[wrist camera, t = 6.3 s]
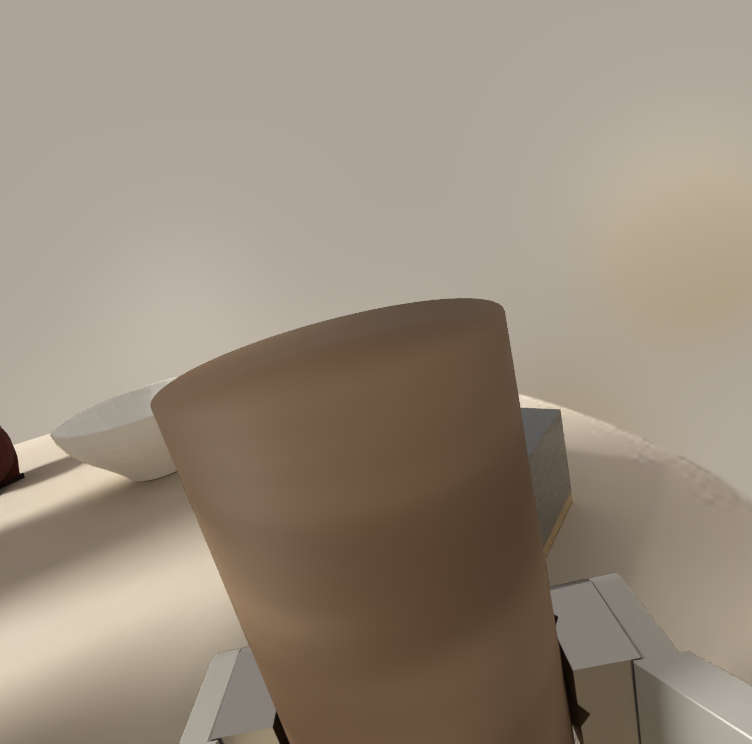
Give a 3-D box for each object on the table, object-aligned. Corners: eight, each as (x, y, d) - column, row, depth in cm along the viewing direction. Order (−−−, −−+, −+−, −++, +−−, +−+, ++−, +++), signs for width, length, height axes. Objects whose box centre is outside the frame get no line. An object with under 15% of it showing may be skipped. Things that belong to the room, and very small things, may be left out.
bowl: (266, 416, 52) (247, 360, 50) (203, 493, 37) (172, 417, 35) (146, 440, 54) (124, 387, 53) (41, 520, 39) (4, 451, 37)
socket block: (276, 588, 24) (243, 499, 22) (399, 471, 32) (382, 401, 31) (483, 689, 16) (454, 564, 14) (572, 500, 25) (560, 409, 23)
